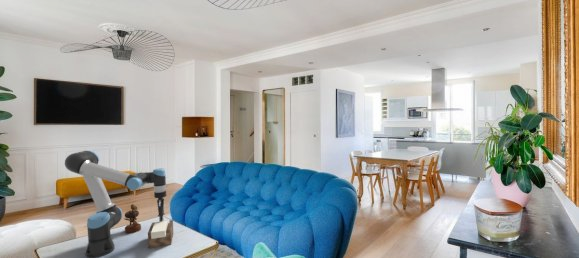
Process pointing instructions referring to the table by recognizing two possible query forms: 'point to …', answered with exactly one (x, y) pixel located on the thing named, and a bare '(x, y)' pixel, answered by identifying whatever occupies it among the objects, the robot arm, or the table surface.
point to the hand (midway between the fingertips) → (161, 224)
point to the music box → (132, 220)
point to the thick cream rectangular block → (159, 229)
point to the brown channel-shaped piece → (163, 240)
